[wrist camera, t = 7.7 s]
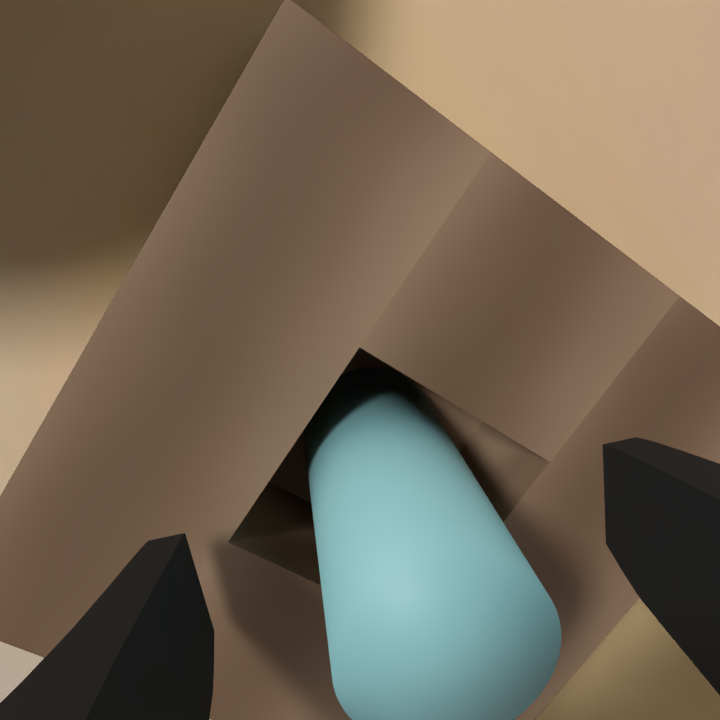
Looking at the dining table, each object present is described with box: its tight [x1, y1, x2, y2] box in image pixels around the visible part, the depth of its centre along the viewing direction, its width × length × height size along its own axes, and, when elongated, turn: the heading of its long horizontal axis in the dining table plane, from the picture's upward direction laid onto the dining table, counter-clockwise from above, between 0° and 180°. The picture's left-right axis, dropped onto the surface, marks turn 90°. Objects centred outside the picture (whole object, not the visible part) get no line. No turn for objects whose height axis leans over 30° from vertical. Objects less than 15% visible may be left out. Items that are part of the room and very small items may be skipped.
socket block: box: [0, 0, 720, 720], centre depth 14 cm, size 12×12×4 cm
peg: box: [303, 368, 561, 720], centre depth 11 cm, size 3×3×7 cm
